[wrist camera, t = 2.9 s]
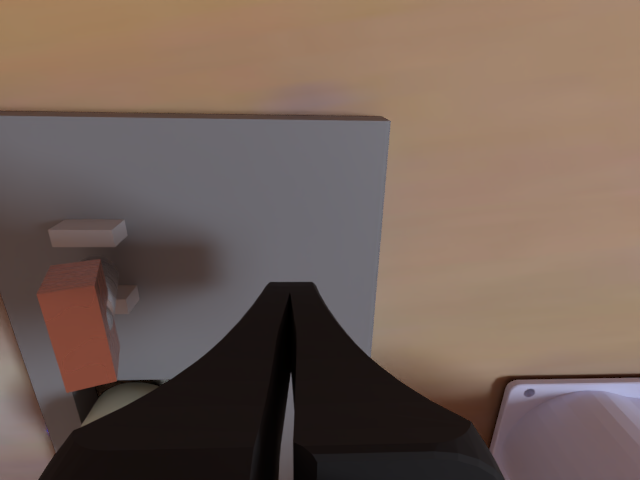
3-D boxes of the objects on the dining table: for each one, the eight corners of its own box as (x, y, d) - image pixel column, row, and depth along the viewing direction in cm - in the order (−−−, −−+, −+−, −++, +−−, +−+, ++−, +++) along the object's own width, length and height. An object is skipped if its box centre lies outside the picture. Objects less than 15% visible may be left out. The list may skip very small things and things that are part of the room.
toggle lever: (111, 224, 13) (98, 284, 10) (127, 300, 15) (121, 380, 11) (64, 230, 13) (31, 295, 9) (83, 307, 14) (62, 394, 10)
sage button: (184, 381, 17) (163, 436, 14) (195, 451, 18) (177, 511, 16) (84, 383, 17) (44, 439, 14) (103, 453, 18) (71, 515, 16)
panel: (381, 116, 14) (397, 124, 12) (349, 535, 23) (355, 585, 21) (-25, 110, 13) (-92, 118, 11) (110, 543, 23) (88, 596, 20)
